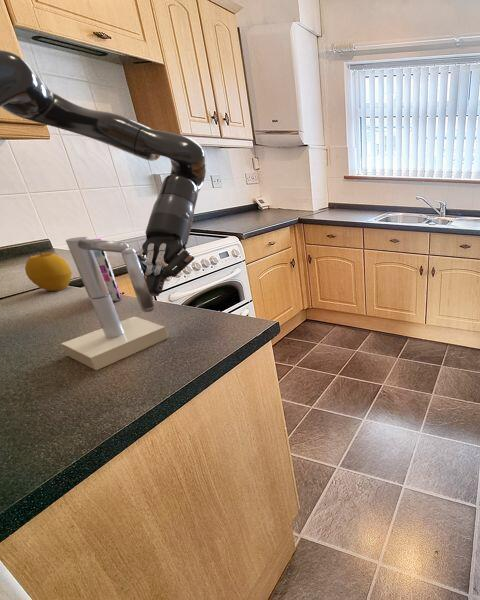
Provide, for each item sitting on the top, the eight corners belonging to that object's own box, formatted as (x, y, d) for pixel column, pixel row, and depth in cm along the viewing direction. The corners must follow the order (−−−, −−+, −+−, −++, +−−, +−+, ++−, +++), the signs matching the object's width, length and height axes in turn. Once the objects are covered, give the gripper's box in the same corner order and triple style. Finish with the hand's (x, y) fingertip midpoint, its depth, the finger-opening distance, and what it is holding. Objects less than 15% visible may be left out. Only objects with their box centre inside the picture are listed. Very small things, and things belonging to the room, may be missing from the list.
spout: (89, 308, 69) (61, 240, 63) (105, 301, 72) (79, 236, 66) (146, 315, 65) (121, 244, 60) (160, 309, 68) (138, 240, 62)
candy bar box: (122, 300, 97) (101, 244, 90) (100, 305, 94) (77, 248, 87) (120, 289, 105) (101, 237, 98) (99, 293, 102) (78, 240, 95)
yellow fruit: (48, 285, 108) (31, 250, 104) (84, 282, 111) (69, 247, 106) (27, 296, 100) (8, 258, 95) (67, 292, 103) (51, 255, 98)
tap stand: (96, 370, 66) (71, 315, 61) (66, 355, 71) (41, 303, 66) (168, 338, 77) (152, 289, 72) (138, 327, 82) (122, 281, 77)
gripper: (211, 229, 77) (194, 301, 71) (154, 230, 77) (133, 301, 71) (191, 210, 70) (171, 287, 64) (128, 210, 70) (102, 288, 64)
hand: (151, 294), depth 67 cm, fingers closed
